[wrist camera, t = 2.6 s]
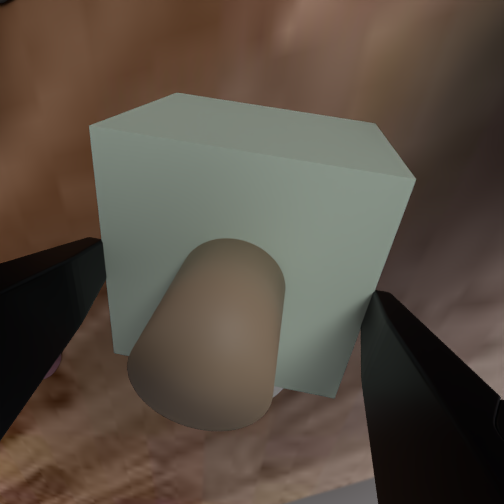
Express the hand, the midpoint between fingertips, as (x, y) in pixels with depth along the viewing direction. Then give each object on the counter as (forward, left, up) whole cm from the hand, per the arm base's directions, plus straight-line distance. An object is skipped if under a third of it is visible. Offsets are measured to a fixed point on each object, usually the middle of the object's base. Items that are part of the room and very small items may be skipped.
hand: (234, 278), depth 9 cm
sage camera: (0, 0, -5) cm, 5 cm away
